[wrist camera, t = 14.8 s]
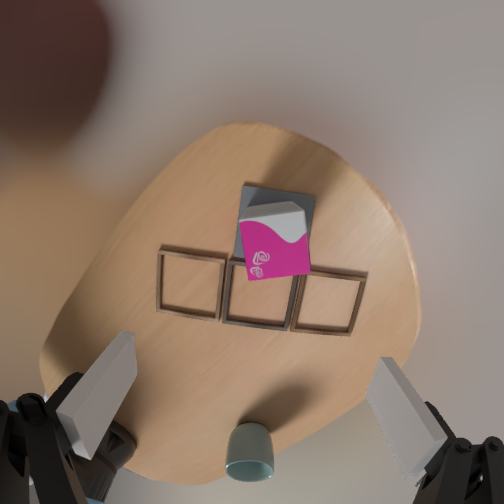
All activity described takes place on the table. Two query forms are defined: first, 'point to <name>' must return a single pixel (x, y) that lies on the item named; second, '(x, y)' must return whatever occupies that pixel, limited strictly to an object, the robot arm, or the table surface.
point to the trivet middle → (254, 324)
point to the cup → (250, 453)
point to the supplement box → (275, 240)
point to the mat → (266, 196)
